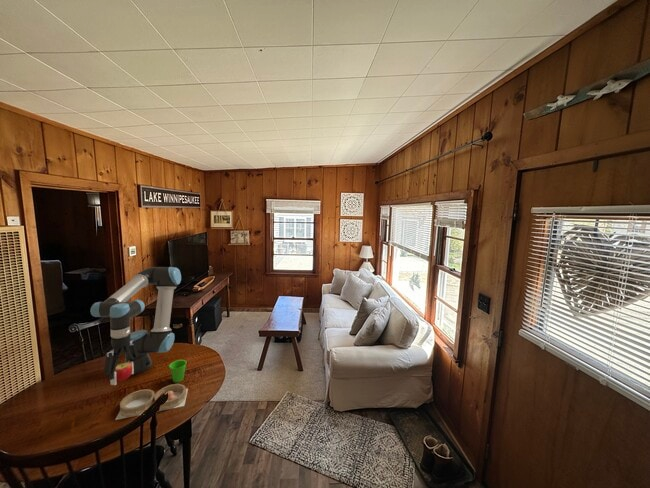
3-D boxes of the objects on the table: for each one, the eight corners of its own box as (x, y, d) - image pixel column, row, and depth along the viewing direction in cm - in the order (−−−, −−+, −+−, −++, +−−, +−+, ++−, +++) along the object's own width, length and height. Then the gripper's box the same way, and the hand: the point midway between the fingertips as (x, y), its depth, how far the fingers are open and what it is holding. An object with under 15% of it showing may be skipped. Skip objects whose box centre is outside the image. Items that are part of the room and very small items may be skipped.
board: (115, 422, 122) (115, 419, 121) (125, 401, 135) (125, 399, 134) (184, 408, 132) (184, 405, 132) (188, 390, 145) (188, 388, 145)
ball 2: (167, 401, 134) (166, 395, 134) (174, 398, 137) (174, 392, 136) (168, 405, 132) (168, 399, 131) (176, 402, 134) (176, 396, 134)
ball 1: (165, 397, 137) (165, 391, 137) (172, 394, 140) (172, 388, 139) (166, 400, 135) (166, 394, 134) (174, 397, 137) (174, 391, 137)
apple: (131, 372, 135) (131, 354, 134) (133, 380, 128) (132, 361, 127) (111, 378, 129) (110, 359, 128) (112, 387, 123) (111, 367, 122)
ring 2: (152, 398, 136) (152, 391, 136) (181, 387, 146) (181, 380, 145) (157, 414, 126) (157, 406, 125) (189, 400, 135) (188, 393, 135)
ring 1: (119, 404, 131) (118, 397, 130) (151, 392, 140) (151, 385, 140) (122, 421, 121) (121, 413, 120) (157, 407, 130) (156, 399, 130)
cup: (179, 387, 147) (178, 369, 146) (165, 385, 149) (165, 367, 147) (190, 378, 156) (190, 361, 154) (177, 375, 157) (177, 358, 156)
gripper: (105, 346, 116) (107, 393, 118) (145, 327, 136) (147, 367, 139) (91, 344, 117) (94, 391, 119) (133, 326, 138) (135, 366, 140)
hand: (122, 378), depth 129 cm, fingers closed on apple, 8 cm apart
